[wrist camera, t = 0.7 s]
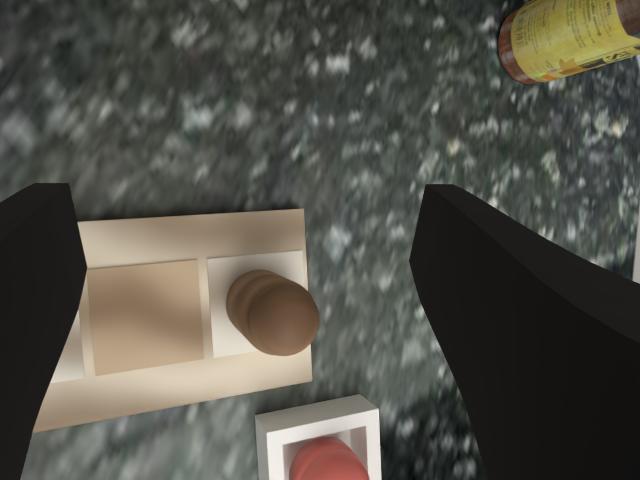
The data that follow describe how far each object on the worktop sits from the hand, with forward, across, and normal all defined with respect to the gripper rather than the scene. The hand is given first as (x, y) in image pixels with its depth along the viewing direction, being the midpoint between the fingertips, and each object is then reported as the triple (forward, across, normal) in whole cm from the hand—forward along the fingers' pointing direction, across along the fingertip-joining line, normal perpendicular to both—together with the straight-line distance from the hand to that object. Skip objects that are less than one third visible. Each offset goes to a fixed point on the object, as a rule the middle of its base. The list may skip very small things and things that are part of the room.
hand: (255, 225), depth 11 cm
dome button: (+11, -5, +28) cm, 30 cm away
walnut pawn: (+17, -1, +17) cm, 24 cm away
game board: (+16, +10, +17) cm, 25 cm away
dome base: (+13, -5, +28) cm, 31 cm away
